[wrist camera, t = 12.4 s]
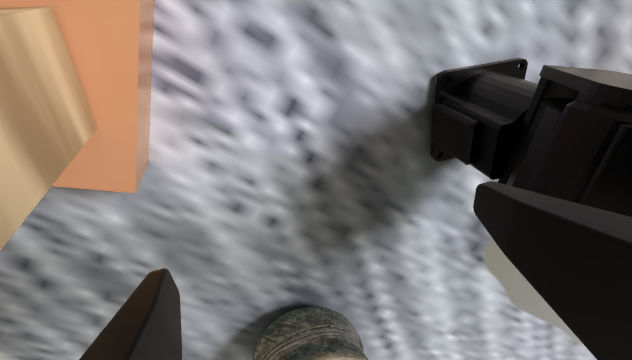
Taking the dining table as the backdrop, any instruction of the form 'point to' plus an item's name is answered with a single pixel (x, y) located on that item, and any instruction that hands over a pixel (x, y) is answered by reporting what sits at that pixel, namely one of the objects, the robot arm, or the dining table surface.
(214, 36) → the dining table surface
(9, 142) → the birch block
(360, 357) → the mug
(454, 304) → the dining table surface
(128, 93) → the terracotta block
